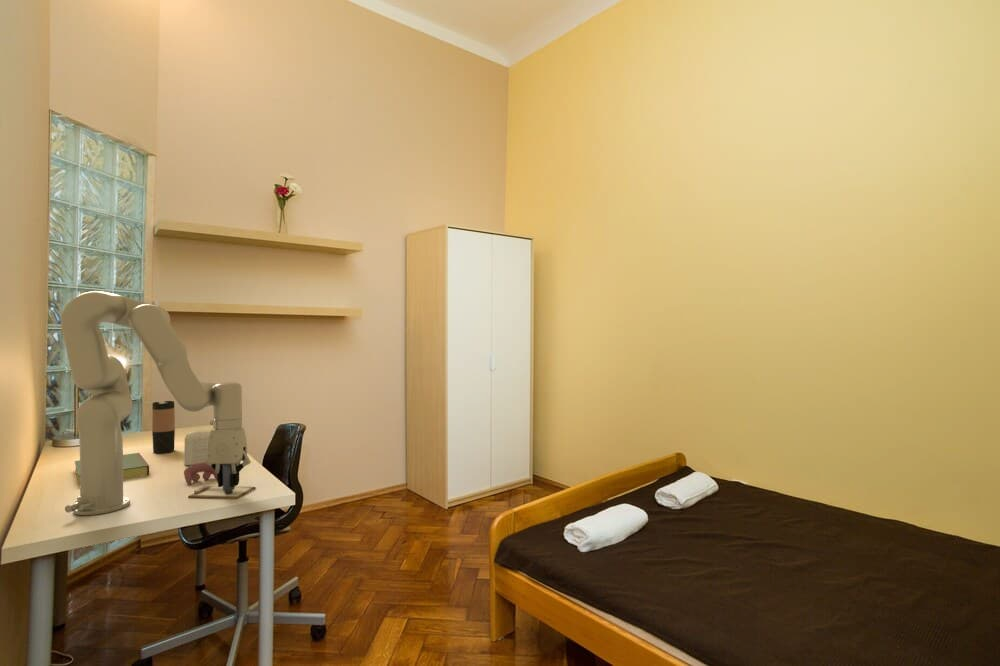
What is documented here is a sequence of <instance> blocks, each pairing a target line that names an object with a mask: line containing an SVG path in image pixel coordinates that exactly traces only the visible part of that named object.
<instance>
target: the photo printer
mask: <svg viewBox="0 0 1000 666" xmlns="http://www.w3.org/2000/svg"><path fill="white" fill-rule="evenodd" d="M210 432H211V430H208V429H207V430H206V429H199V430H192V431H191V432H187V433H186V434H185V437H184V455H183V456H184V457H183V458H184V463H183V464H184V466H185V465H187V466H191V465H193V464H196V463H201V462H206V461H207V452H208V441H209V436H210Z"/></svg>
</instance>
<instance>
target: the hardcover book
mask: <svg viewBox="0 0 1000 666" xmlns="http://www.w3.org/2000/svg"><path fill="white" fill-rule="evenodd" d="M74 464H75V472H77V473H76V477H78V478H77V481H79V482H78V485H80V459H79V460H75V461H74ZM141 475H145V476H149V475H150V465H149V463H148V462H147V461H146V459H145V458H144V457H143V455H141V453H140V452H136V453H135V452H134V453H127V454H123V480H125V479H130V478H131V477H132V478H137V477H136V476H138V477H142V476H141ZM124 478H125V479H124Z"/></svg>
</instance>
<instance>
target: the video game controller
mask: <svg viewBox="0 0 1000 666" xmlns="http://www.w3.org/2000/svg"><path fill="white" fill-rule="evenodd" d="M199 473H203V474H202V479H203V480H205V479H207V480H209V479H210V478H211V476H212V475H213V477H214V478H215V479H216V480H217V473H215V470H214V469H213V468H212V466H210V465H208V464H206V462H201V463H196V464H193V465H188V467H187V466H186V468H185V469H184V470H183V476H184V479H185V482H186V484H187V485H188V486H191V485H192V482H194V481H196V482H198V481H199V480H200V479H201V475H200V474H199Z"/></svg>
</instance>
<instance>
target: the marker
mask: <svg viewBox="0 0 1000 666" xmlns="http://www.w3.org/2000/svg"><path fill="white" fill-rule="evenodd" d="M231 474H232V466H231V464H222V485H223V491H224V493H225V494H230V493H232V492H233V490H234V489H235V487H230V475H231Z"/></svg>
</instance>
